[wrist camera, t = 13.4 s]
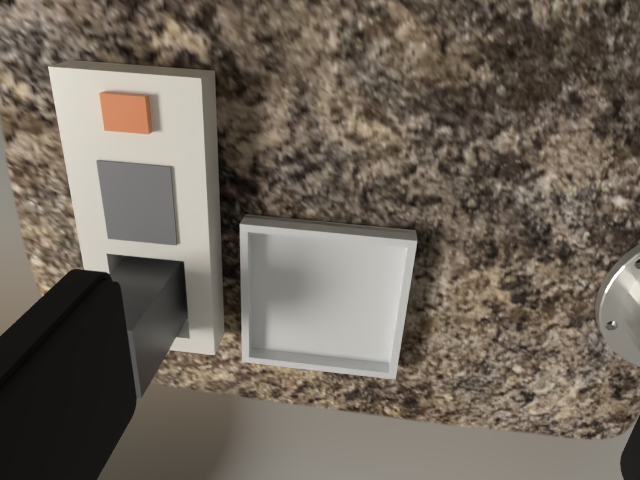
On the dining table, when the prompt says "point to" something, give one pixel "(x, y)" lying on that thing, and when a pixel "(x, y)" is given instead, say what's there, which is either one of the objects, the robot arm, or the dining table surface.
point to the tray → (324, 294)
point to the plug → (151, 311)
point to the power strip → (146, 176)
